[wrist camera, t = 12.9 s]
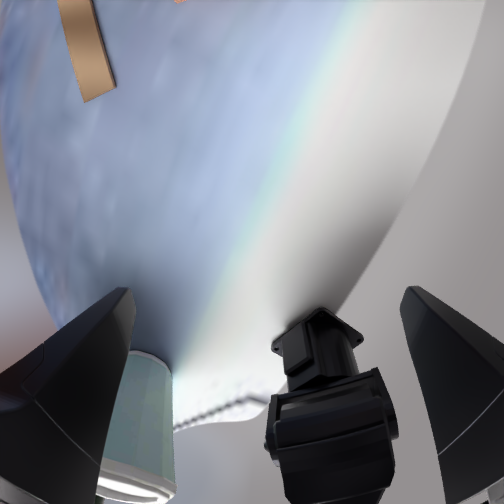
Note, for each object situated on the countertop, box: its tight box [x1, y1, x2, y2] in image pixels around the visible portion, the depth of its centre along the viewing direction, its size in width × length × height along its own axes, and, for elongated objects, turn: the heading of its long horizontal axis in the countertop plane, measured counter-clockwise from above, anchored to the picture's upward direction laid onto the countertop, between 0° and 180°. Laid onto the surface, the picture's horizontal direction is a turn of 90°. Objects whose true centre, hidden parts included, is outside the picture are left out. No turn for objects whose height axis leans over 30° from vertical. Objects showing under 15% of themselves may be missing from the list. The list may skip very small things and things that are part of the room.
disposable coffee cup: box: [96, 351, 178, 504], centre depth 24 cm, size 11×11×15 cm
